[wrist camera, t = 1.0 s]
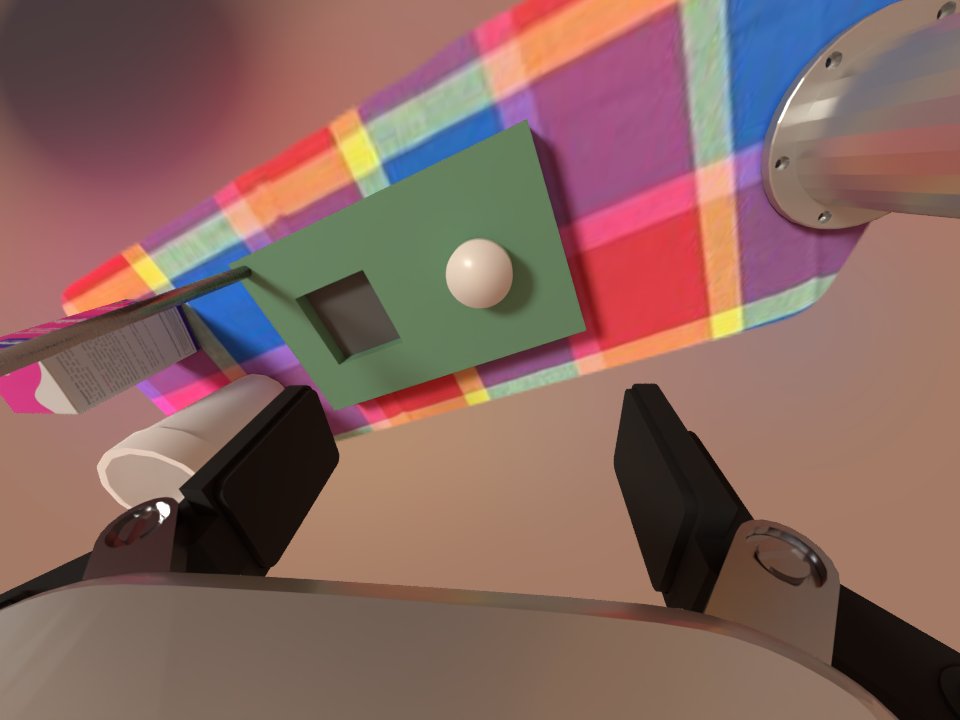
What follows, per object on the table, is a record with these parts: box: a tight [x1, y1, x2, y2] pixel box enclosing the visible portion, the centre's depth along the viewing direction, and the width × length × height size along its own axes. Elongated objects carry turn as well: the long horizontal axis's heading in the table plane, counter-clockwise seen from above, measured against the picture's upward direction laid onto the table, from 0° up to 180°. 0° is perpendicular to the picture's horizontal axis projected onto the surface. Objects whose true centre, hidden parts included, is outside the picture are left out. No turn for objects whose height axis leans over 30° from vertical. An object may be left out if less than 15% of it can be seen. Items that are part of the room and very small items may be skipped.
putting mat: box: [0, 119, 586, 411], centre depth 22 cm, size 29×16×20 cm, turn 112°
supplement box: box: [0, 300, 201, 414], centre depth 29 cm, size 6×6×12 cm
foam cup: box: [97, 374, 285, 509], centre depth 32 cm, size 10×9×13 cm
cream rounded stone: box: [446, 237, 513, 308], centre depth 26 cm, size 5×5×2 cm
